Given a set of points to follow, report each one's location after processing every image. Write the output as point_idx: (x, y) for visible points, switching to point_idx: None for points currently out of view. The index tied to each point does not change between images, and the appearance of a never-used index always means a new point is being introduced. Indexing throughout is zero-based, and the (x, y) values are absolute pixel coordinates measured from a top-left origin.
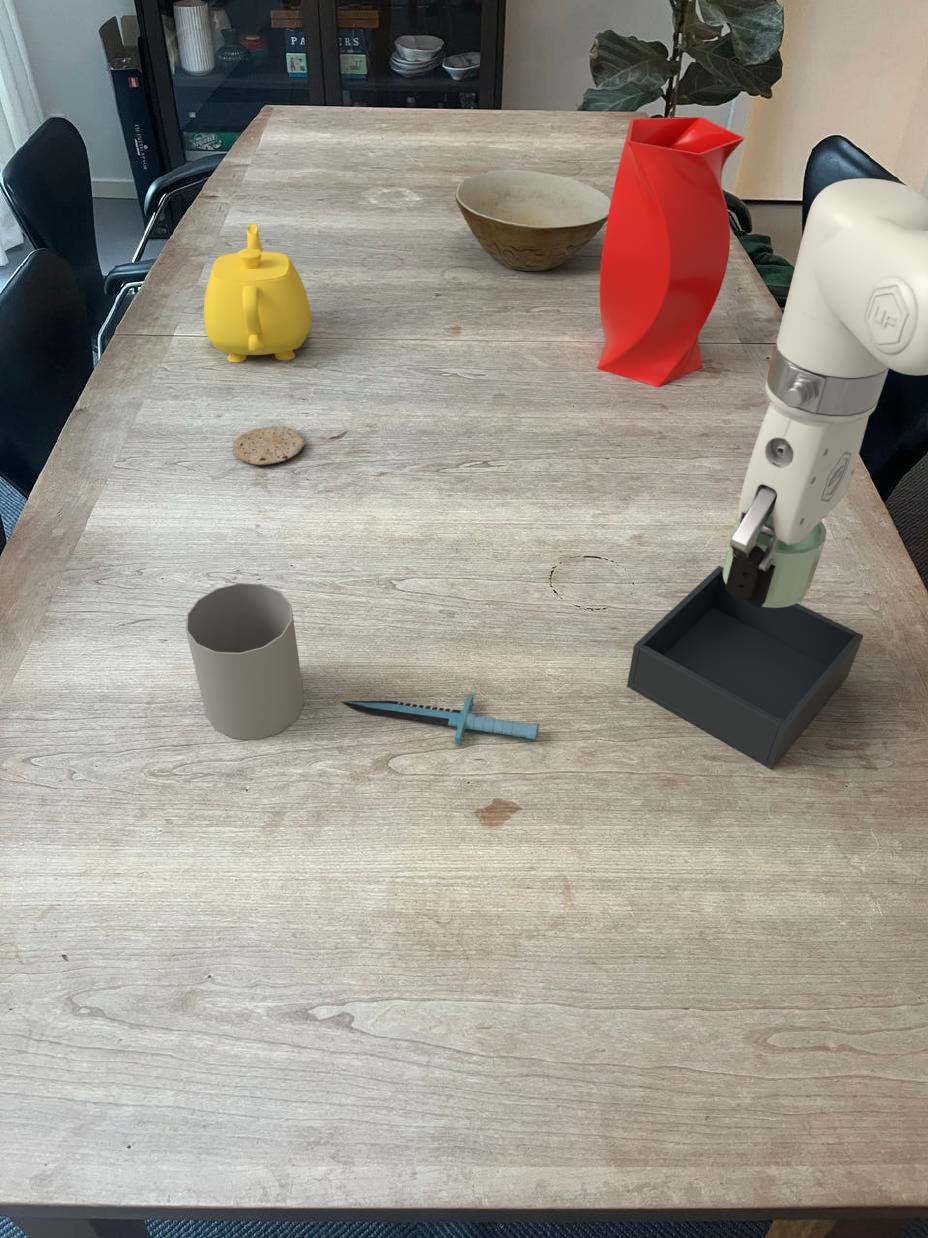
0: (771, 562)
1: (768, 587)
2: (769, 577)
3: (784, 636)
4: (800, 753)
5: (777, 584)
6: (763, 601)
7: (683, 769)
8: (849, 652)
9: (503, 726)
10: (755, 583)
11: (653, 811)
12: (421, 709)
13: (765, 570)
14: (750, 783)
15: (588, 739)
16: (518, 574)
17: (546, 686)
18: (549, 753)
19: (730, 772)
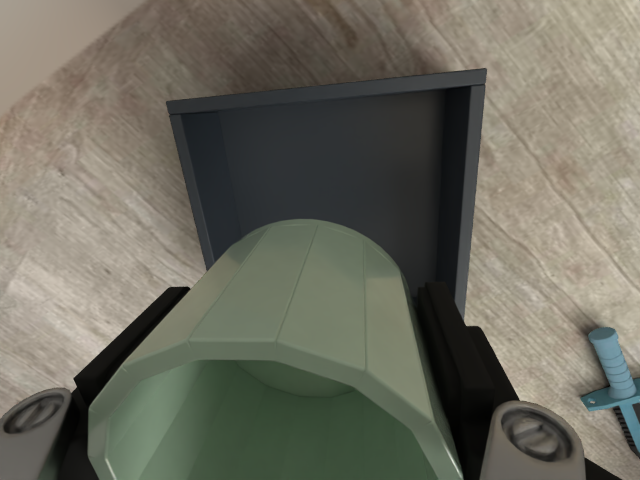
0: (496, 423)
1: (450, 319)
2: (479, 357)
3: (231, 206)
4: (394, 64)
5: (406, 305)
6: (444, 289)
7: (531, 171)
8: (222, 95)
9: (620, 363)
10: (486, 360)
11: (631, 157)
12: (630, 427)
13: (544, 411)
14: (498, 85)
15: (554, 283)
16: None
17: (502, 358)
18: (604, 303)
19: (496, 120)
